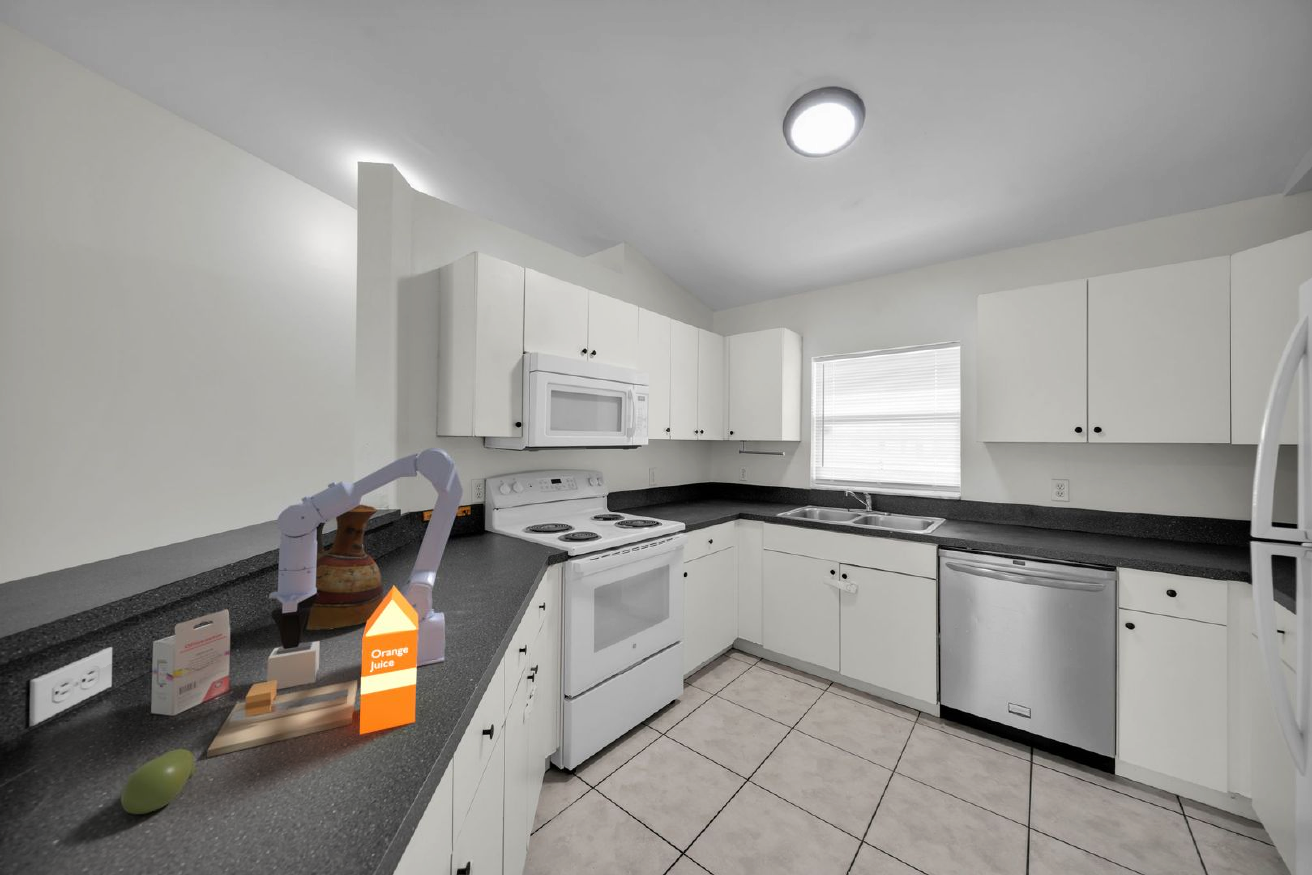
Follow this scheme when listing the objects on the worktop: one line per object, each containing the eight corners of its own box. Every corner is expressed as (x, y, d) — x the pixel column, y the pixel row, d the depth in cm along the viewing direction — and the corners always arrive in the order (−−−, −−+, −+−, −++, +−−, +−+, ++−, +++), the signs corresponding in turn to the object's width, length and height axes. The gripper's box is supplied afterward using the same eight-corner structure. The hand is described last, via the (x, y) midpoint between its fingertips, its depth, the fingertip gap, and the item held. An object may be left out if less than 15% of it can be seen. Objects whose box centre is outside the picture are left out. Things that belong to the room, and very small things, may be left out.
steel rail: (348, 694, 81) (348, 688, 81) (347, 702, 78) (347, 696, 78) (234, 718, 73) (234, 711, 73) (228, 728, 71) (229, 721, 71)
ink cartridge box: (207, 688, 85) (211, 606, 85) (229, 691, 84) (232, 608, 84) (148, 713, 76) (152, 622, 77) (171, 717, 75) (175, 624, 76)
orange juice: (358, 734, 71) (362, 602, 72) (364, 706, 79) (367, 587, 80) (416, 721, 75) (419, 595, 75) (416, 696, 82) (419, 581, 83)
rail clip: (276, 698, 77) (277, 679, 77) (270, 711, 73) (270, 692, 73) (252, 703, 75) (253, 684, 75) (245, 716, 71) (245, 696, 71)
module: (318, 670, 92) (319, 637, 92) (314, 682, 87) (315, 647, 88) (273, 679, 88) (274, 644, 89) (266, 691, 84) (268, 655, 84)
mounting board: (357, 685, 86) (357, 680, 86) (351, 723, 74) (351, 717, 74) (236, 709, 78) (236, 703, 78) (207, 757, 66) (207, 750, 66)
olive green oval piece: (112, 778, 53) (152, 746, 62) (106, 830, 52) (147, 790, 61) (179, 762, 56) (208, 733, 65) (175, 812, 55) (204, 776, 64)
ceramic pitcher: (350, 640, 107) (354, 508, 108) (263, 639, 107) (268, 508, 108) (398, 611, 126) (401, 500, 128) (325, 610, 127) (328, 499, 128)
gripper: (279, 561, 93) (276, 631, 92) (261, 578, 80) (258, 659, 80) (322, 558, 96) (320, 624, 96) (311, 574, 84) (309, 651, 83)
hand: (295, 640), depth 88 cm, fingers open, 7 cm apart
